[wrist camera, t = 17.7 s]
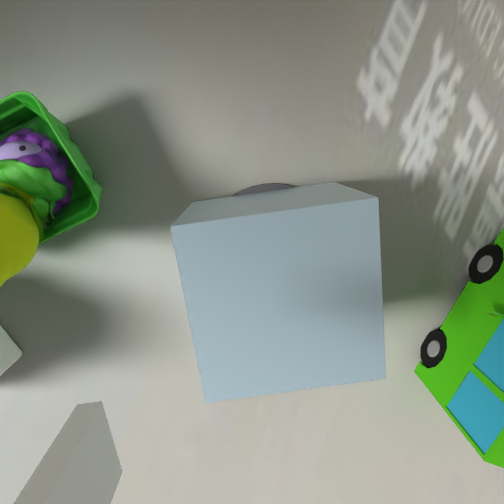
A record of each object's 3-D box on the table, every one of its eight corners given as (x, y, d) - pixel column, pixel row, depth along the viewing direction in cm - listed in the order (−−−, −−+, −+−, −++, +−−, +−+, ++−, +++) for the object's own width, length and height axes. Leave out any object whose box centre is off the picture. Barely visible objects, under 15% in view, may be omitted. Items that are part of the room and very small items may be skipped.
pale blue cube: (192, 201, 26) (169, 226, 18) (334, 181, 26) (378, 197, 18) (215, 328, 29) (205, 402, 20) (343, 311, 29) (385, 378, 20)
